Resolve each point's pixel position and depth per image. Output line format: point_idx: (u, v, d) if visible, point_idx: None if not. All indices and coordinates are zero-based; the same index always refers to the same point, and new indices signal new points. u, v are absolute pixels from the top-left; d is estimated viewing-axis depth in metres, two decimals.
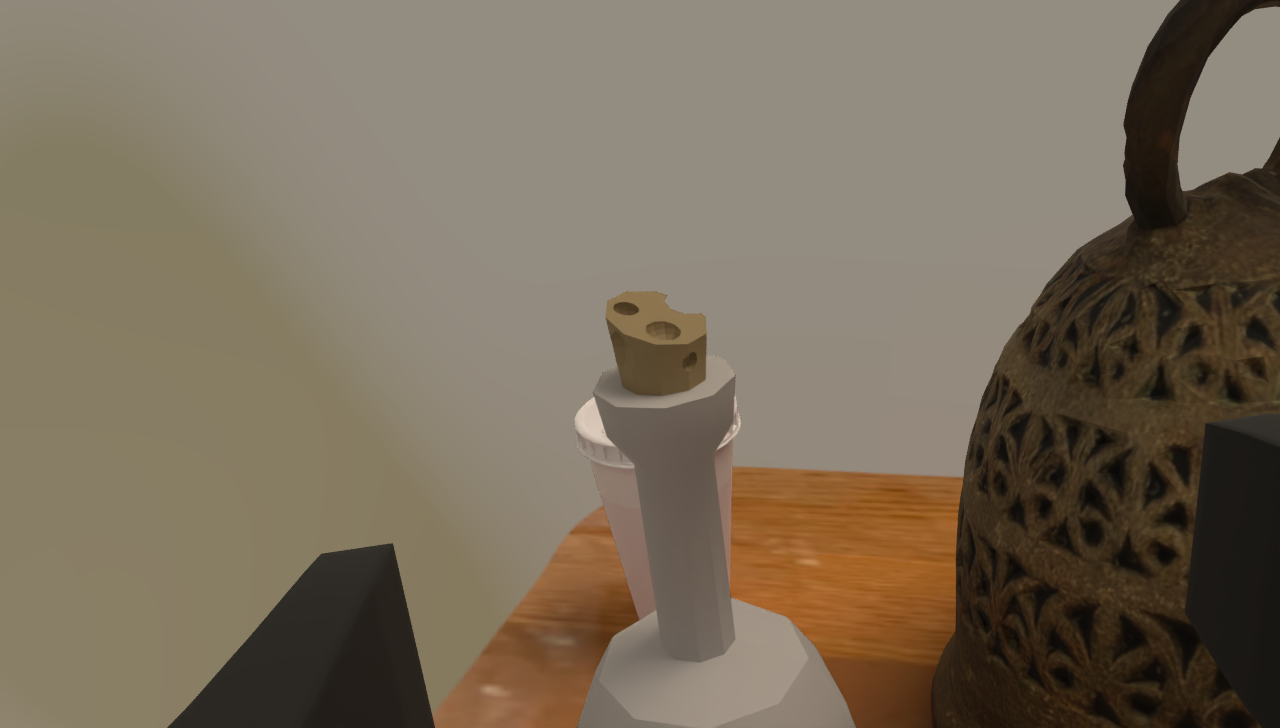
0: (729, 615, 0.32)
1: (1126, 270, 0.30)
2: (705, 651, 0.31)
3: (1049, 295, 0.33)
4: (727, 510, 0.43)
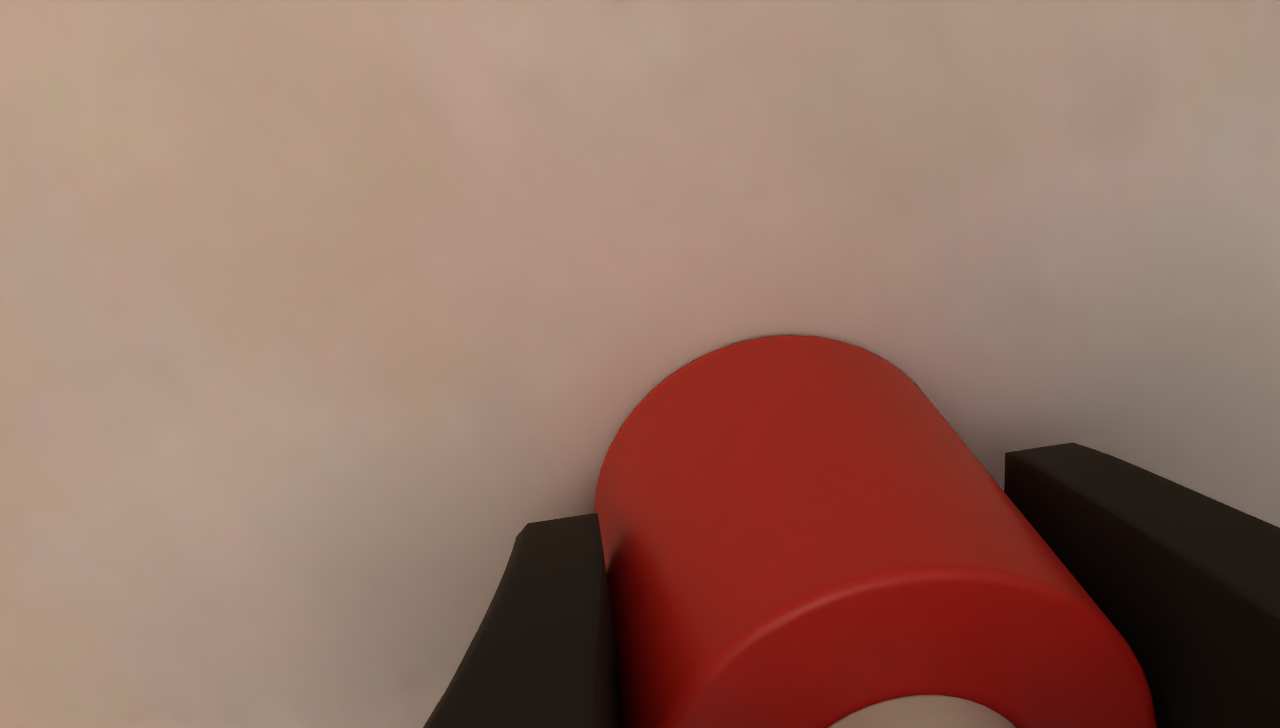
0: None
1: None
2: None
3: None
4: None
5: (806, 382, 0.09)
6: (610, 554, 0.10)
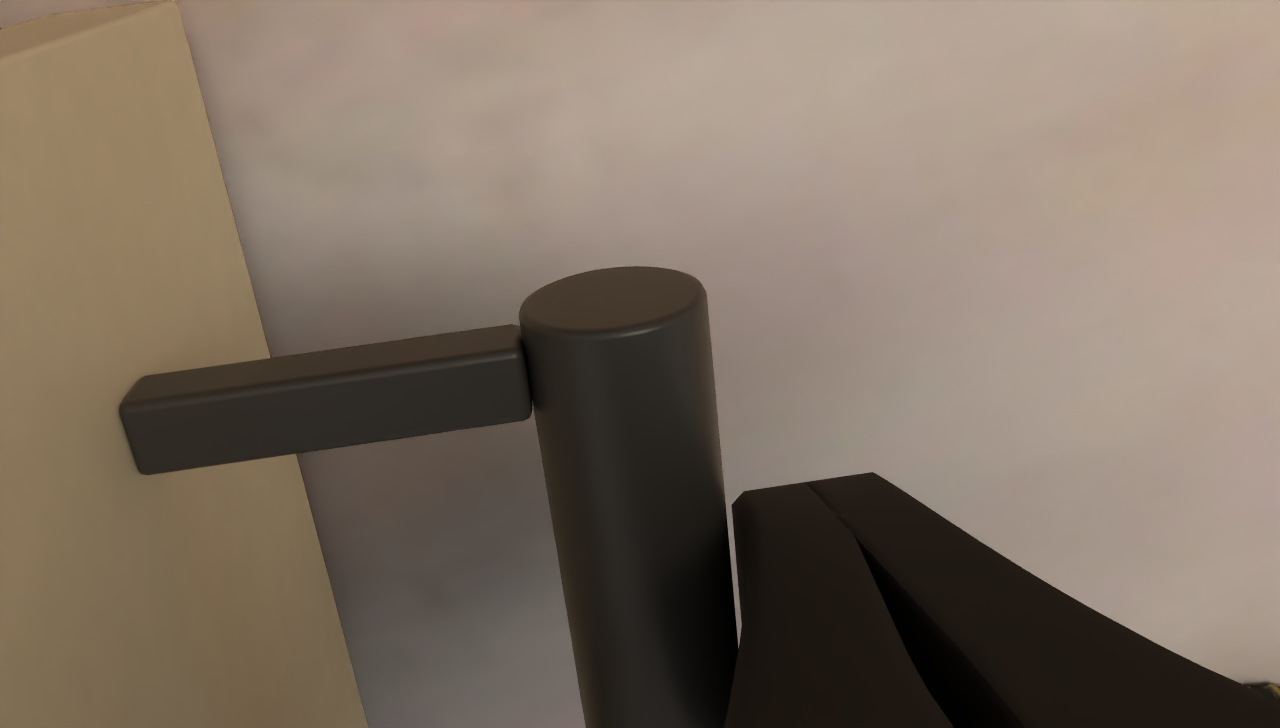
0: None
1: None
2: None
3: None
4: None
5: None
6: None
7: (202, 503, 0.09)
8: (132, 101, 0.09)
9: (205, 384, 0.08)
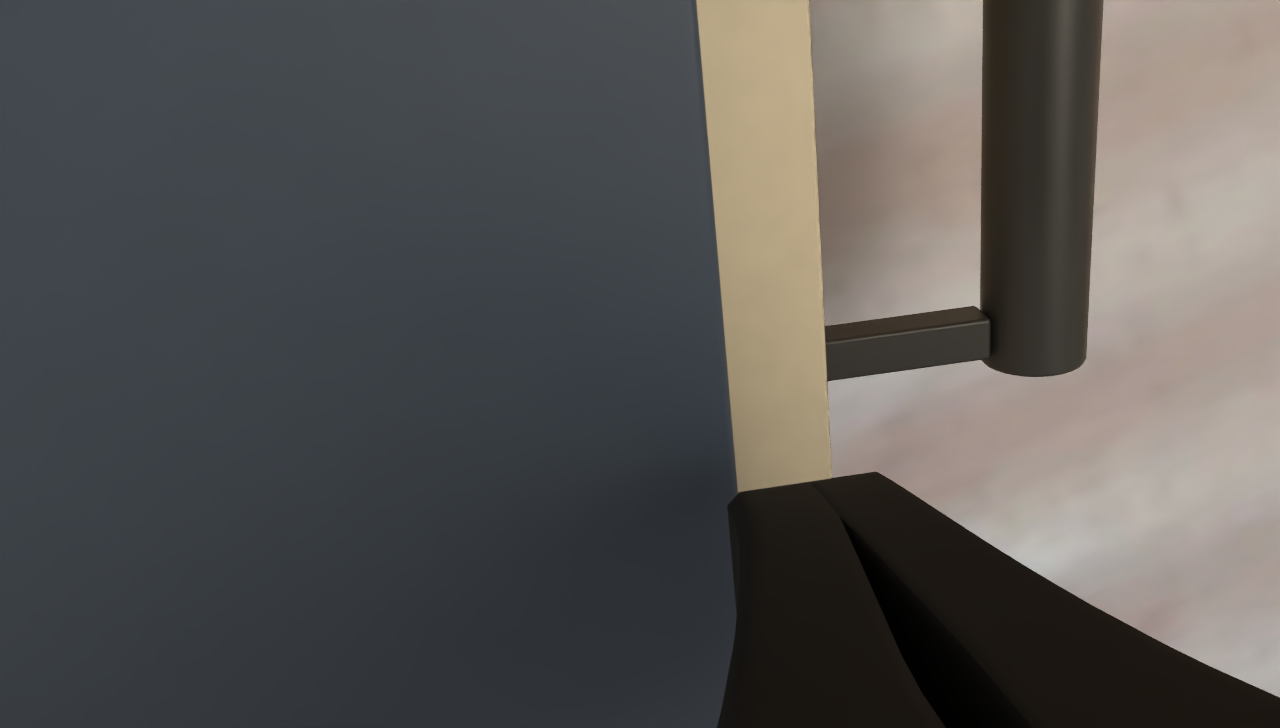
0: None
1: None
2: None
3: None
4: None
5: None
6: None
7: None
8: None
9: None
